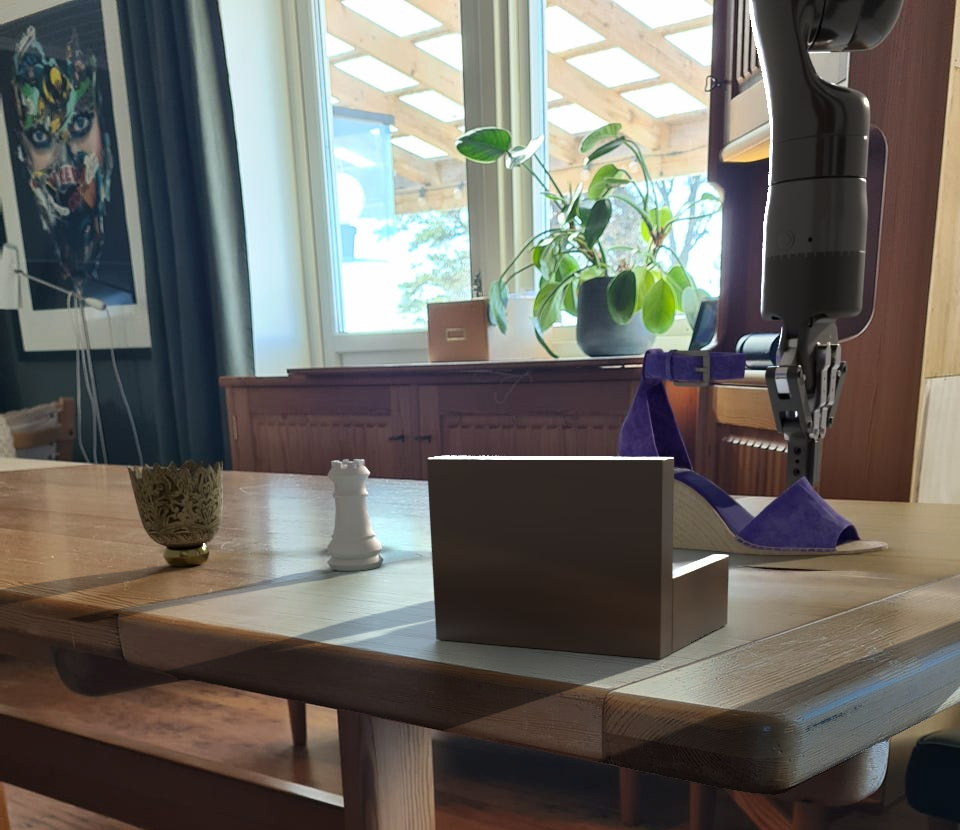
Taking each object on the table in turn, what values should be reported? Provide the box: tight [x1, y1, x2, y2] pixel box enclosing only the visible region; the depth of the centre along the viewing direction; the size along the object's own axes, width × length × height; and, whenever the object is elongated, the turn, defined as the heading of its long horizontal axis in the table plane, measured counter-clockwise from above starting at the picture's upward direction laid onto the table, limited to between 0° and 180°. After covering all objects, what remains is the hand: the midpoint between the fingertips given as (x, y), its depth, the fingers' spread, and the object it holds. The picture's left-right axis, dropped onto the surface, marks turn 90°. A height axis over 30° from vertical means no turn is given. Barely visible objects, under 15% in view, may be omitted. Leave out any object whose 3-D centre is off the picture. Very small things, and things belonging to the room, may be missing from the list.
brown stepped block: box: [426, 455, 730, 660], centre depth 72 cm, size 10×14×10 cm
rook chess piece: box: [326, 458, 385, 572], centre depth 99 cm, size 4×4×8 cm
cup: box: [126, 458, 224, 567], centre depth 104 cm, size 8×7×8 cm
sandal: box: [616, 348, 889, 572], centre depth 92 cm, size 8×20×15 cm, turn 57°
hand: (802, 488), depth 103 cm, fingers closed
